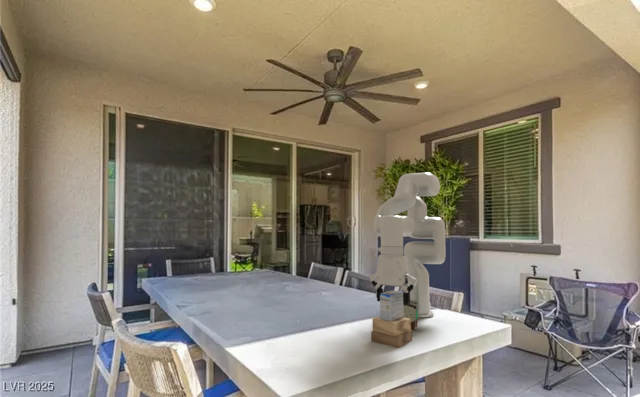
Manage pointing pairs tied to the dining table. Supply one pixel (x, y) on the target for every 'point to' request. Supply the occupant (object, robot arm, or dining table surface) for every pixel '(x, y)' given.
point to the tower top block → (392, 326)
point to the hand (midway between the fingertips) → (392, 302)
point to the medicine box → (391, 305)
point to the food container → (412, 313)
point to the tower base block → (391, 338)
